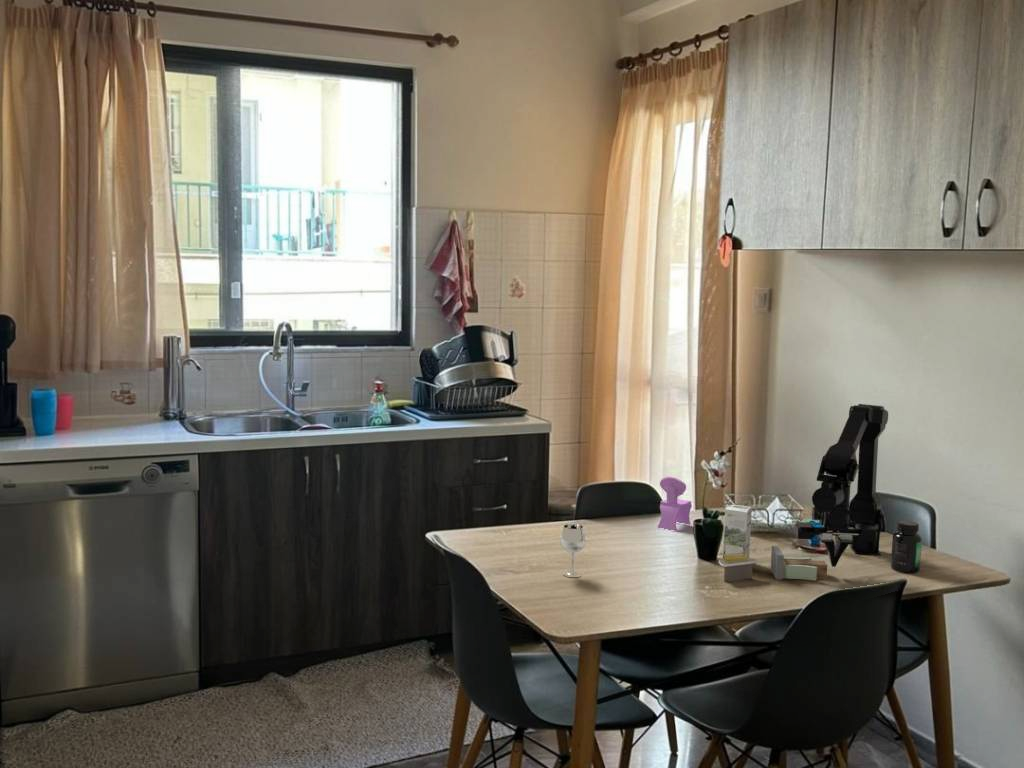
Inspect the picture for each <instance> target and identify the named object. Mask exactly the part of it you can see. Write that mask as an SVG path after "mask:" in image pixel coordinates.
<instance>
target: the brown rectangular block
mask: <svg viewBox="0 0 1024 768" xmlns="http://www.w3.org/2000/svg"><path fill="white" fill-rule="evenodd" d="M784 561H785V563H786V564H790V565H808V566H815V567H817V578H816V579H827V577H828V576H827V574H828V573H827V572H828V564H827V563H826V562H825V560H812V559H811V560H790V559H784Z"/></svg>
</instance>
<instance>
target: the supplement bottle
mask: <svg viewBox="0 0 1024 768" xmlns="http://www.w3.org/2000/svg"><path fill="white" fill-rule="evenodd" d="M919 530H920V529H919V523H918V522H916V521H912V520H900V521H897V531H895V532H894V533H893V534H892V543H891V544H892V545H891V554H890V555H891V556H890V557H891V558H890V568H891V569H892V570H893V571H895V572H897V571H898V573H901V572H902V574H917V573H919V572H920V570H921V558H922V547H923V545H922V544H923V537H922V536H921V535H920V534H919V533H918V532H919Z"/></svg>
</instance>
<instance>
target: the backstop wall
mask: <svg viewBox="0 0 1024 768" xmlns="http://www.w3.org/2000/svg"><path fill="white" fill-rule="evenodd" d="M770 554H771V557H770V571H771V573H772V574H773V576H774V578H775V580H780V581H782V580H783V579H784V578H783V562H784V557H785V555H784V554H783V552H782V550H781V549H780V547H779V545H772V546H771V553H770Z"/></svg>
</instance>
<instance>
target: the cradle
mask: <svg viewBox="0 0 1024 768" xmlns="http://www.w3.org/2000/svg"><path fill="white" fill-rule="evenodd" d="M784 559H790V560H812V558H811V557H809V556H808V557H786V556H784ZM783 579H786V580H787V579H791V580H792V579H793V580H808V581H814V582H815V581H817V579H818V578H817V567H815V566H808V565H790V564H786V563H785V561H784V562H783Z"/></svg>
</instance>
